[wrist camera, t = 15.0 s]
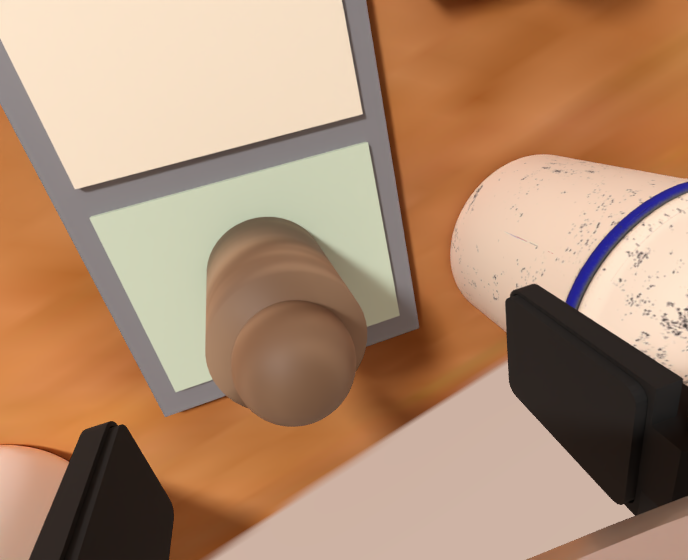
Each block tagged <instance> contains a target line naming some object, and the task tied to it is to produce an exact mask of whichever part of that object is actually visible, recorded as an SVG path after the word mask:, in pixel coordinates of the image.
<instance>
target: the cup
mask: <svg viewBox="0 0 688 560" xmlns="http://www.w3.org/2000/svg"><path fill="white" fill-rule="evenodd" d="M68 464H69V462H68V461H67V460H65V459H63V458H61V457H59V456H57V455H55V454H52V453H50V452H47V451H44V450H40V449H36V448H31V447H26V446H18V445H0V560H29V558H30V555H31V553H32V550H33V548H34V546H35V543H36V541H37V538H38V536H39V534H40V531H41V529H42V526H43V524H44V521H45V519H46V517H47V515H48V512H49V510H50V507H51V505H52V503H53V500H54V498H55V495H56V493H57V490H58V488H59V486H60V483H61V481H62V478H63V476H64V474H65V471H66V469H67V466H68Z"/></svg>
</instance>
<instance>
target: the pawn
mask: <svg viewBox="0 0 688 560" xmlns="http://www.w3.org/2000/svg"><path fill="white" fill-rule="evenodd" d="M366 344H367V325H366V320H365V317H364V313H363V311H362V309H361V307H360V305H359V304H358V302H357V301H356V299H355V298H354V296H353V295H352V293H351V292H350V290H349V289H348V287H347V286H346V284H345V283H344V281H343V280H342V279H341V277H340V276H339V274H338V273H337V271H336V270H335V268H334V267H333V265H332V264H331V262H330V261H329V259H328V258H327V256H326V255H325V254H324V252H323V251H322V249H321V248H320V246H319V245H318V243H317V242H316V240H315V239H314V238H313V236H312V235H311V234H310V233H309V232H308V231H307V230H305V229H304V228H303V227H301V226H300V225H298V224H296V223H294V222H292V221H290V220H286V219H283V218H278V217H258V218H253V219H249V220H246V221H244V222H241V223H239V224H237V225H235V226H234V227H232V228H231V229H229V230H228V231H227V232H226V233H225V234H224V235H222V237H221V238H220V239H219V240H218V241H217V243H216V244H215V246H214V247H213V249H212V252H211V254H210V256H209V260H208V264H207V279H206V334H205V357H206V363H207V367H208V370H209V373H210V375H211V377H212V379H213V381H214V382H215V384H216V385H217V386H218V388H219V389H220V390H221V391H222V392H223V393H224V394H225V395H226V396H227V397H229V398H230V399H231V400H233V401H234V402H236V403H238V404H240V405H242V406H244V407H247V408H249V409H250V410H251V411H252V412H253V413H255V414H256V415H257V416H259V417H260V418H262V419H264V420H266V421H268V422H271V423H273V424H276V425H281V426H304V425H308V424H312V423H315V422H317V421H319V420H321V419H323V418H325V417H326V416H328V415H329V414H331V413H332V412H333V411H334V410H336V409H337V408H338V407H339V405H340V404H341V403H342V402H343V401H344V399H345V398H346V396H347V394H348V393H349V391H350V389H351V386H352V384H353V380H354V377H355V372H356V370H357V369H358V367H359V365H360V363H361V361H362V358H363V356H364V353H365V349H366Z"/></svg>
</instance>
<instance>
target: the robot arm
mask: <svg viewBox="0 0 688 560" xmlns="http://www.w3.org/2000/svg"><path fill="white" fill-rule="evenodd" d="M505 311H506V331H507V351H508V369H509V383H510V387H511V389H512V391H513V393H514V394H515V395H516V397H517V398H518V399H519V400H520V401H521V402H522V403H523V404H524V405H525V406H526V407H527V408H528V410H529V411H530V412H531V413H532V414H533V415H534V416H535V417H536V418H537V419H538V420H539V421H540V422H541V424H542V425H543V426H544V427H545V428H546V429H547V430H548V431H549V432H550V433H551V434H552V435H553V437H554V438H555V439H556V440H557V441H558V442H559V443H560V444H561V445H562V446H563V447H564V448H565V449H566V450H567V452H568V453H569V454H570V455H571V456H572V457H573V458H574V459H575V460H576V461H577V462H578V463H579V464H580V466H581V467H582V468H583V469H584V470H585V471H586V472H587V473H588V474H589V475H590V476H591V477H592V478H593V480H595V482H596V483H597V484H598V485H599V486H600V487H601V488H602V489H603V490H604V491H605V492H606V494H607V495H608V496H609V497H610V498H611V499H612V500H613V501H614V502H616V503H617V504H620V505H622V504H625V505H626V506H627V508H628V509H629V510H630V511H631V512H632V513H633V514H634V515H635V516H634V517H631V518H629V519H626V520H623V521H621V522H618V523H616V524H613V525H611V526H608V527H606V528H603V529H601V530H598V531H596V532H593V533H591V534H588V535H586V536H583V537H581V538H579V539H576V540H574V541H571V542H569V543H566V544H564V545H561V546H559V547H556V548H554V549H552V550H549V551H547V552H544V553H542V554H540V555H537V556H534V557H532V558H529V559H527V560H688V386H687V385H685V384H684V383H683V378H682V377H680V376H679V375H677V374H675V373H674V372H672V371H671V370H669V369H668V368H666V367H665V366H663V365H661V364H660V363H658V362H657V361H655V360H654V359H652V358H651V357H649V356H648V355H646V354H644V353H643V352H641V351H640V350H638V349H637V348H635V347H634V346H632V345H630V344H629V343H627V342H626V341H624V340H623V339H621V338H620V337H618V336H617V335H615V334H613V333H612V332H610V331H609V330H607V329H606V328H604V327H603V326H601V325H599V324H598V323H596V322H595V321H593V320H592V319H590V318H589V317H587V316H586V315H584V314H582V313H581V312H579V311H578V310H576V309H575V308H573V307H572V306H570V305H569V304H567V303H565V302H564V301H562V300H561V299H559V298H558V297H556V296H555V295H553V294H551V293H550V292H548V291H547V290H545V289H544V288H542V287H541V286H539V285H537V284H531V285H527V286H524V287H521V288H518V289H515V290H513V291H512V292H511V293H510V297H509V298H507V299H506V301H505ZM173 521H174V511H173V506H172V503H171V501H170V499H169V497H168V496H167V494H166V492H165V491H164V489H163V487H162V486H161V484H160V482H159V481H158V479H157V477H156V476H155V474H154V472H153V471H152V469H151V467H150V465H149V464H148V462H147V460H146V459H145V457H144V455H143V454H142V452H141V450H140V449H139V447H138V445H137V444H136V442H135V440H134V439H133V437H132V435H131V434H130V432H129V430H128V429H127V427H126V426H125V425H119V426H118V425H117V424H116V423H115V422H113V421H110V422H107V423H104V424H100V425H97V426H94V427H91V428H88V429H85V430H84V431H83V432H82V433H81V435H80V437H79V440H78V442H77V445H76V447H75V449H74V452H73V454H72V457H71V459H70V462H69V464H68V466H67V469H66V471H65V474H64V476H63V478H62V481H61V483H60V486H59V488H58V490H57V493H56V495H55V498H54V500H53V503H52V505H51V507H50V510H49V512H48V515H47V517H46V519H45V521H44V524H43V526H42V529H41V531H40V534H39V536H38V538H37V541H36V543H35V546H34V548H33V550H32V553H31V555H30V558H29V560H169V554H170V545H171V537H172V529H173Z"/></svg>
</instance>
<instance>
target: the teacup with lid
mask: <svg viewBox="0 0 688 560" xmlns="http://www.w3.org/2000/svg"><path fill="white" fill-rule="evenodd" d="M450 260H451V268H452V272H453V276H454V279H455V282H456V284H457V286H458V288H459V290H460V291H461V293H462V294H463V295H464V297H465V298H466V299H467V300H468V301H469V302H470V303H471V304H472V305H474V306H475V307H476V308H477V309H479V310H480V311H481V312H482V313H483V314H485V315H486V316H487V317H488V318H490V319H491V320H492V321H493V322H495V323H496V324H497V325H498V326H499V327H501V328H502V329H503V330H504V331H506V311H505V301H506V299H507V298H509V297H510V293H511V292H512V291H513V290H515V289H518V288H521V287H524V286H527V285H531V284H537V285H539V286H541V287H542V288H544V289H545V290H547V291H548V292H550V293H551V294H553V295H555V296H556V297H558V298H559V299H561V300H562V301H564V302H565V303H567V304H569V305H570V306H572V307H573V308H575V309H576V310H578V311H579V312H581V313H582V314H584V315H586V316H587V317H589V318H590V319H592V320H593V321H595V322H596V323H598V324H599V325H601V326H603V327H604V328H606V329H607V330H609V331H610V332H612V333H613V334H615V335H617V336H618V337H620V338H621V339H623V340H624V341H626V342H627V343H629V344H630V345H632V346H634V347H635V348H637V349H638V350H640V351H641V352H643V353H644V354H646V355H648V356H649V357H651V358H652V359H654V360H655V361H657V362H658V363H660V364H661V365H663V366H665V367H666V368H668V369H669V370H671V371H672V372H674V373H675V374H677V375H679V376H680V377H682V378H683V383H684V384H685V385H687V386H688V179H682V178H677V177H671V176H666V175H660V174H655V173H649V172H644V171H638V170H633V169H627V168H622V167H616V166H611V165H605V164H600V163H594V162H589V161H583V160H578V159H572V158H567V157H561V156H556V155H546V154H542V155H532V156H527V157H523V158H520V159H517V160H515V161H512V162H510V163H508V164H506V165H504V166H503V167H501V168H499V169H498V170H496V171H495V172H494V173H492V174H491V175H490V176H489V177H487V178H486V179H485V180H484V181H483V182H482V183H481V184H480V185H479V186H478V187H477V188H476V190H475V191H474V192H473V193H472V195H471V196H470V197H469V199H468V200H467V202H466V203H465V205H464V207H463V209H462V211H461V213H460V215H459V217H458V219H457V222H456V225H455V228H454V232H453V235H452V241H451V249H450ZM506 332H507V331H506Z"/></svg>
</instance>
